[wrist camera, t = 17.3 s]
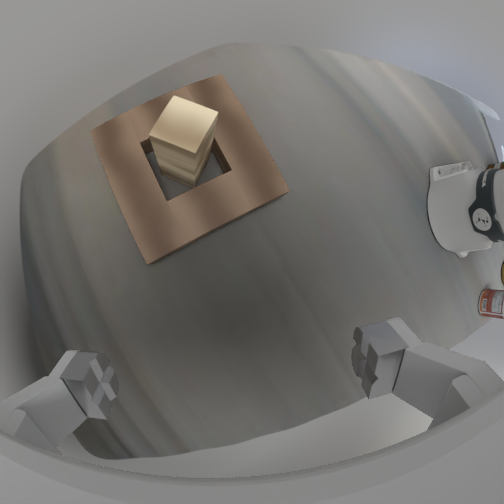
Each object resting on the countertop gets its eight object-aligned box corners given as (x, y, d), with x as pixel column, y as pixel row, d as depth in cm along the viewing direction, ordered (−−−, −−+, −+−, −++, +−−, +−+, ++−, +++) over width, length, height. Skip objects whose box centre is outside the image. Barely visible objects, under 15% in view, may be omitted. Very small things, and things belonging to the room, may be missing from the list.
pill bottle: (490, 302, 46) (525, 305, 35) (480, 320, 45) (516, 327, 34) (485, 283, 46) (522, 285, 35) (475, 302, 44) (513, 307, 34)
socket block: (218, 90, 34) (221, 73, 30) (279, 197, 35) (290, 190, 31) (99, 143, 31) (90, 130, 27) (152, 263, 32) (147, 264, 28)
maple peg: (178, 145, 33) (173, 95, 21) (209, 158, 34) (218, 112, 22) (162, 175, 32) (148, 134, 21) (194, 188, 33) (195, 153, 21)
